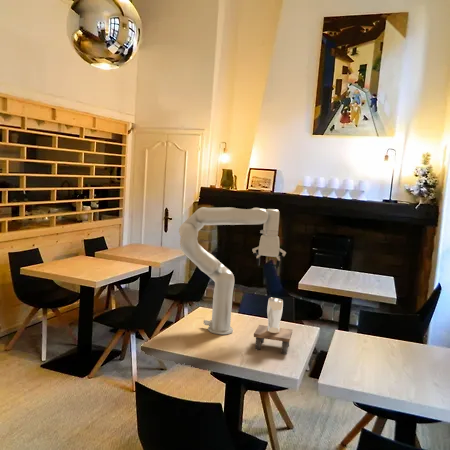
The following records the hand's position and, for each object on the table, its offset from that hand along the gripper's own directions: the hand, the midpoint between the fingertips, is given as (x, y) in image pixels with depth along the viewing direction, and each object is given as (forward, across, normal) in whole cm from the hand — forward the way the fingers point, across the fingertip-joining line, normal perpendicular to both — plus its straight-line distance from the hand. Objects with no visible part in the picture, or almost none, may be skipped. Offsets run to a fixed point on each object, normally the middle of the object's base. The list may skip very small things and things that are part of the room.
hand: (267, 266), depth 223 cm
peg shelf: (+33, +8, -22) cm, 41 cm away
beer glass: (+26, +8, -22) cm, 35 cm away
